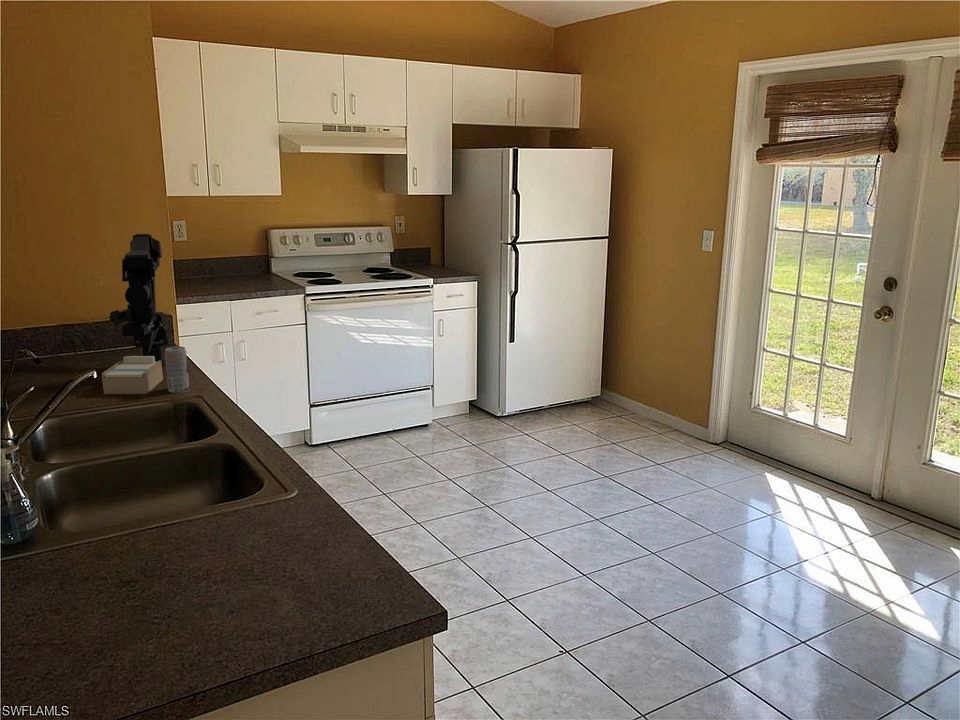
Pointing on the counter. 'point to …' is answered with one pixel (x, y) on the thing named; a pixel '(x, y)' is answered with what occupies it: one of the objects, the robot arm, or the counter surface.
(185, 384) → the energy drink
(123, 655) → the counter surface
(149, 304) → the robot arm
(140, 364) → the lid
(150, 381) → the mailer box
